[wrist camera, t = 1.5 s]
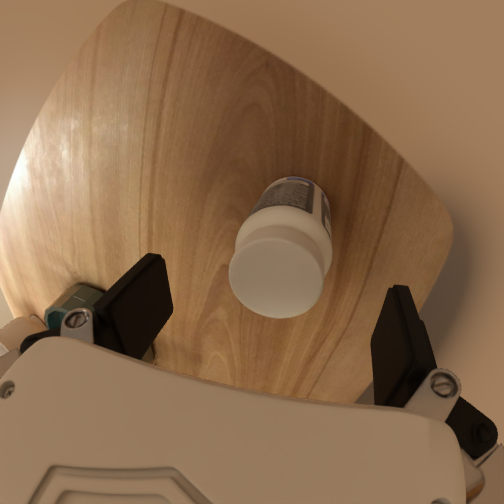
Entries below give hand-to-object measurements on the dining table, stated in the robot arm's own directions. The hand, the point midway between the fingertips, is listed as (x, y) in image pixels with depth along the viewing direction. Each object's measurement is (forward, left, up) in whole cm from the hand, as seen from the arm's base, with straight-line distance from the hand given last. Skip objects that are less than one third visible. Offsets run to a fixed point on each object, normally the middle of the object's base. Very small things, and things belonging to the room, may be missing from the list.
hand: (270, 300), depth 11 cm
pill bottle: (0, 0, -9) cm, 9 cm away
